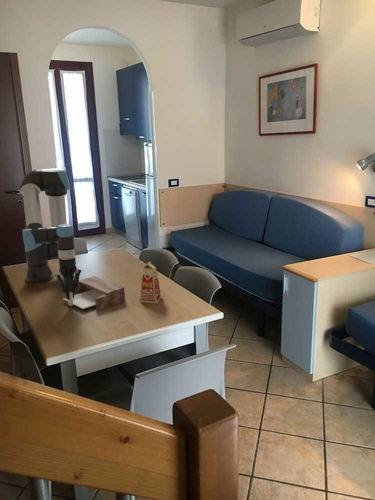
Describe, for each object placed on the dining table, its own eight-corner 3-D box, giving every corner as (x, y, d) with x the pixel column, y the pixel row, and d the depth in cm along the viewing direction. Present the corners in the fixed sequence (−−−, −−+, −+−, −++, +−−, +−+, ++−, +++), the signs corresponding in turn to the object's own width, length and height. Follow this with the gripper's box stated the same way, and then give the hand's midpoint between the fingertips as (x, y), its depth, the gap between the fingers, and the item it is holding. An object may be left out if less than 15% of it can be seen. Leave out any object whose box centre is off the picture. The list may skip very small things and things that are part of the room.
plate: (83, 312, 191) (83, 308, 191) (62, 302, 204) (62, 298, 203) (116, 301, 204) (115, 297, 204) (94, 292, 217) (94, 288, 216)
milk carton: (156, 303, 201) (155, 264, 195) (138, 302, 203) (136, 263, 197) (161, 296, 209) (160, 258, 204) (144, 295, 211) (142, 258, 206)
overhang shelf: (97, 310, 193) (96, 296, 191) (68, 296, 211) (67, 283, 209) (125, 301, 204) (124, 287, 202) (95, 288, 222) (94, 276, 220)
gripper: (58, 261, 185) (62, 310, 190) (83, 256, 194) (86, 303, 199) (50, 258, 190) (54, 306, 195) (75, 253, 199) (78, 299, 204)
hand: (70, 305), depth 197 cm, fingers closed
